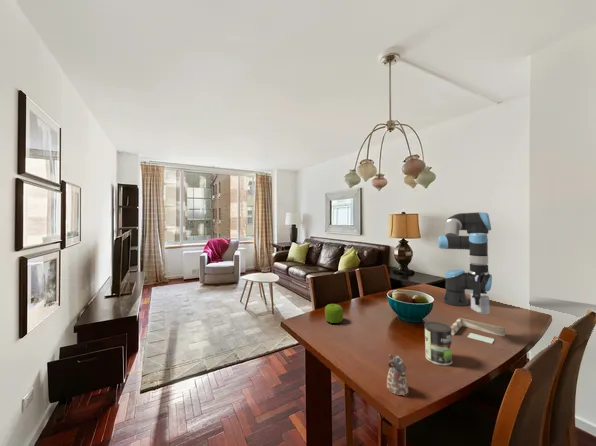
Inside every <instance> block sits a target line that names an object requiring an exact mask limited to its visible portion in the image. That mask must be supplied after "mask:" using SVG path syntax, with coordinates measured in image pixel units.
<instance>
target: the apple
mask: <svg viewBox="0 0 596 446" xmlns="http://www.w3.org/2000/svg"><path fill="white" fill-rule="evenodd" d="M343 309H344V308H343V307H342V306H341V305H340V304H338V303H329V304H327V305H326V306H324V316H325V320H326V322H328V323H329V322H330V323H329V324H331V323H337V324H339V323H341V322H343V319H344V310H343Z"/></svg>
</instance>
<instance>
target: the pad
mask: <svg viewBox="0 0 596 446" xmlns="http://www.w3.org/2000/svg"><path fill="white" fill-rule="evenodd" d="M467 338H468V339H469V338H470V339H472V340H476V341H481V342H484V343H488V344H491V345H493V343H494V341H495V338H493V337H487V336H485V335H480V334H478V333H477V334H476V333H473V332H470V333H469V334H468V335H467Z"/></svg>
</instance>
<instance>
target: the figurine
mask: <svg viewBox="0 0 596 446" xmlns="http://www.w3.org/2000/svg"><path fill="white" fill-rule="evenodd" d="M388 357H389V360H388V363H387V366H388V369H389V370H388V373H387V377H386V388H387V389H389V390H388V391H389V392H390V391H391V392H392V393H394V394H397V395H403V396H406V395H405V394H407V393H408V394H409V385H408V382H407V381H408V380H407V375H406V371H407V366H406V365H405V363H404V360H403V359H402V357H401V356H399V355H395V356H393V355H392V354H391V353H390V354H388ZM392 364H393V365H392ZM391 392H390V393H391ZM392 393H391V394H392ZM394 394H393V395H394ZM408 394H407V395H408ZM397 395H396V396H397Z"/></svg>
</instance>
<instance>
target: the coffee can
mask: <svg viewBox="0 0 596 446" xmlns="http://www.w3.org/2000/svg"><path fill="white" fill-rule="evenodd" d="M451 331H452V329H451V326H450V325H447V324H445V323H442V322H438V321H427V322H425V323H424V340H425V341H424V346H425V347H424V348H425V350H424V352H425V359H426V360H427V361H429V362H430V363H432V364H434V365H438V366H450V365H452V364H453V350H452V348H453V347H452V346H453V345H452V335H451Z"/></svg>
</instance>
